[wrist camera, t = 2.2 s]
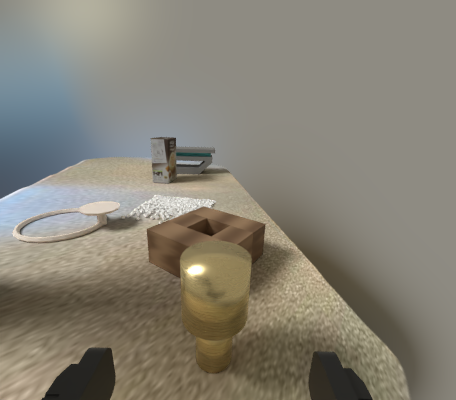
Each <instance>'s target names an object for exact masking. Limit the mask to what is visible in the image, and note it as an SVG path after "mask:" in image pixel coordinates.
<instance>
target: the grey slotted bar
mask: <svg viewBox="0 0 456 400" xmlns="http://www.w3.org/2000/svg"><path fill="white" fill-rule="evenodd" d="M211 153H215V148H206V147H205V148H204V147H176V160H183V161H203V162H202V163H201V164H200V165H186V164H176V170H177V174H200V173H201V172H202V171H203V170H204V169H205V168H207V167H208V166H209V165H210V164H211V163H212V155H211Z"/></svg>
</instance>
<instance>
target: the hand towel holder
mask: <svg viewBox="0 0 456 400" xmlns="http://www.w3.org/2000/svg"><path fill="white" fill-rule="evenodd" d="M119 207H120V203H116V202H113V201H100V202H94V203H88V204H86V205H84V206H81V207H79V208H72V209H63V210H57V211H52V212H47V213H44V214H40V215H37V216H34V217H31V218H29V219H27V220H24V221H22V222H21V223H19V224H18V225H17V226H16V227H15V229H14V230H13V236H14V237H15V238H17V239H18V240H20V241H25V242H31V243H46V242H56V241H62V240H68V239H72V238H76V237H80V236H82V235H85V234H88V233H91V232H93V231H95V230H96V229H98V228H100V227H101V226H104V225H106V224H107V221H106V220H107V216H106V215H105V214H109V213H112V212H114V211H116V210H118V208H119ZM71 212H80V213H82V214H85V215H87V216H97V219H98V222H97V224H96V225H93V226H91V227H89V228H87V229H84V230H81V231H78V232H74V233H70V234H66V235H59V236H53V237H27V236H23V235H20V232H19V231H20V229H21V228H22V227H24V226H25V225H27V224H29V223H31V222H33V221H35V220H38V219H41V218H44V217H48V216H52V215H57V214H62V213H71Z"/></svg>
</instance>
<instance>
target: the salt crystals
mask: <svg viewBox="0 0 456 400" xmlns="http://www.w3.org/2000/svg"><path fill="white" fill-rule="evenodd" d="M215 203H216V201H215V200H213V202H212V200H210V199H207V200H206V199H203V200H202V199H200V200H199V199H197V198H196V199H192V198H190V199H189V198H187V197H186V198H181V197H175V196H174V197H169V196H166V197H165V196H162V195H161V196H160V195H155V196H154V197H153V198H152V199H150V200H149V201H148V202H147V201H146V202H145V203H143V204H141V206H142V207H141V206H139V207H138V208H135V209H134V210H133V211H132V212H131V213H130V214H127V217H128V218H129V217H130V215H131V216H133V215H134V214H135V213H136V216H137V217H136V220H139V218H140V217H138V216H139V215H140V213H144V212H146V213H144V214H143V215H144V216H145V217H147V216H149V215H150V214H151V213H154V211H155V210H154V209H156V211H155V212H156V214H155V215H154V216H151V217H150V219H154V217H155V219H159V216H158V215H159V214H160V215H161V217H162V218H163V220H167V219H169V220H171V219H170V216H169V215H171V216H172V215H173V217H172V219H173V218H176V217H178V216H181V215H183V214H186V213H188V212H191V211H193V210H196V209H198V208H201V207H203V206H204V207H208V208H211V209H213V208H212V206H214V205H213V204H215ZM151 204H153V205H151ZM186 205H187V206H186ZM167 207H168V208H169V209H168V208H167ZM178 207H179V208H178ZM143 208H144V209H146V210H145V211H144V209H143ZM150 208H151V209H150ZM138 209H139V210H140V209H141V210H140V211H138ZM158 209H159V210H158ZM164 209H165V211H164ZM183 210H184V211H183ZM160 211H161V212H160ZM170 211H171V212H170ZM178 212H179V213H178ZM163 214H165V215H163ZM165 216H167V217H165ZM121 218H122V219H125V216H121ZM166 218H167V219H166ZM161 223H163V222H162V221H159V224H161Z"/></svg>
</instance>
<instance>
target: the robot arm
mask: <svg viewBox="0 0 456 400" xmlns="http://www.w3.org/2000/svg"><path fill="white" fill-rule="evenodd" d="M114 385H115V369H114V362H113V356H112V350H111V348H89V349H88V350H87V351H86V352H85V354H84V356H83V357H82V359H81V361H80V362H79V364H71V365H70V366H68V367H67V368H66V369H65V370H64V371H63V372H62V373H61V374H60V375H59V376H58V377H57V378H56V379H55V380H54V382H53V383H52V385H51V386H50V388H49V389H48V391H47V392H46V394H45V397H44V398H42V400H110V398H111V396H112V393H113V390H114ZM309 390H310V395H311V399H312V400H373V399H372V397H371V395H370V393H369V391H368V390H367V388H366V386H365V384H364V382H363V381H362V380H361V379H360V378H359V377H358V376H357V375H356V373H355V372H354V371H353V370H352V369H351V368H343V367H342V365H341V363H340V361H339V359H338V357H337V355H336V354H335V353H334V352H314V353H313V358H312V364H311V369H310V375H309Z"/></svg>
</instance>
